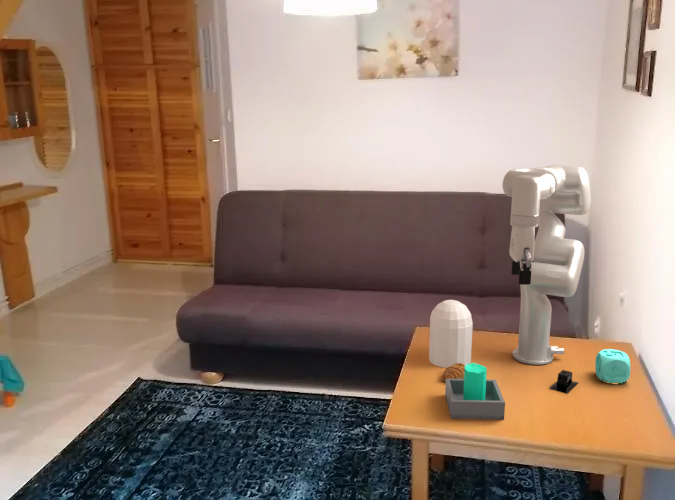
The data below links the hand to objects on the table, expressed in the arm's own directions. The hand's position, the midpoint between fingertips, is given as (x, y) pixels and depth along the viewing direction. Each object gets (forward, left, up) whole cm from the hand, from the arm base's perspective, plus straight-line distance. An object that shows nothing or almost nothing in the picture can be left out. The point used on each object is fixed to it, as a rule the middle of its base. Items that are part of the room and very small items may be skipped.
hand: (520, 279), depth 189 cm
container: (+17, -17, -32) cm, 40 cm away
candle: (+14, +15, -32) cm, 37 cm away
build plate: (-15, 0, -33) cm, 36 cm away
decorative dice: (-30, -5, -33) cm, 45 cm away
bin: (+14, +15, -32) cm, 38 cm away
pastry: (+17, -4, -33) cm, 37 cm away
